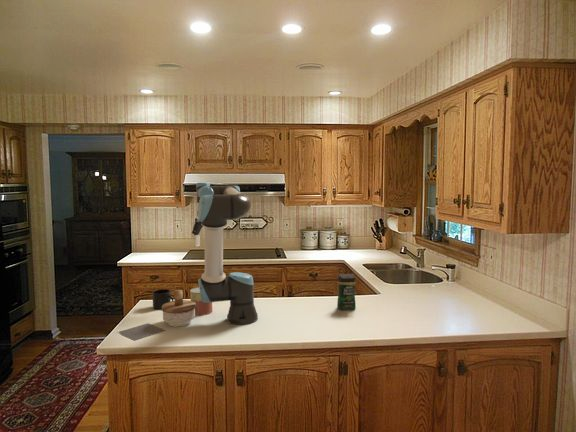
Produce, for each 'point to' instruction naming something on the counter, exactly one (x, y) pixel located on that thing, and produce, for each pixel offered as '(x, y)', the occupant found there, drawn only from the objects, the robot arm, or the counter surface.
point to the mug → (161, 298)
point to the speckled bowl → (179, 318)
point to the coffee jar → (346, 292)
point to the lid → (178, 304)
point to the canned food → (200, 303)
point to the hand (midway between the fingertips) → (205, 247)
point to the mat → (141, 331)
